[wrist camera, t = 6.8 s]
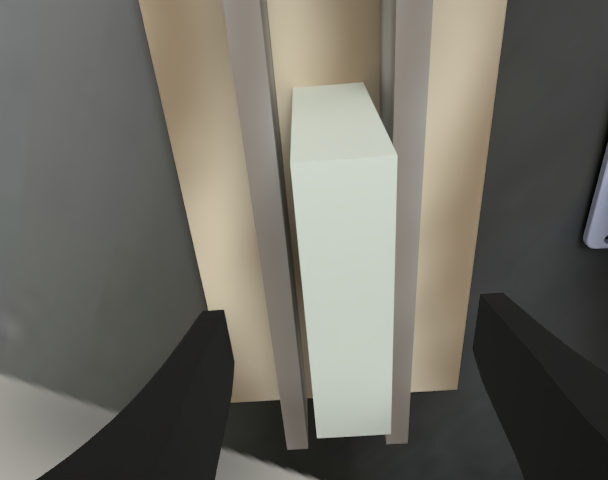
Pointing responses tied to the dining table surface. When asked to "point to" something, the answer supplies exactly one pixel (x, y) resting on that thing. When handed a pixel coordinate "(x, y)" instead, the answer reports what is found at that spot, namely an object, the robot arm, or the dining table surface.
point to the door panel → (346, 254)
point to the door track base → (277, 173)
